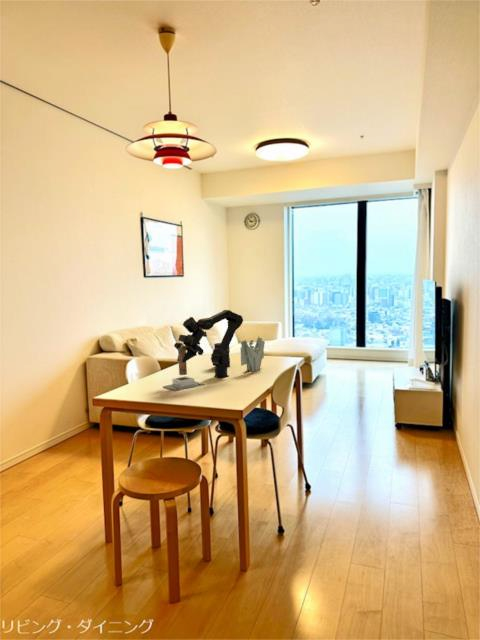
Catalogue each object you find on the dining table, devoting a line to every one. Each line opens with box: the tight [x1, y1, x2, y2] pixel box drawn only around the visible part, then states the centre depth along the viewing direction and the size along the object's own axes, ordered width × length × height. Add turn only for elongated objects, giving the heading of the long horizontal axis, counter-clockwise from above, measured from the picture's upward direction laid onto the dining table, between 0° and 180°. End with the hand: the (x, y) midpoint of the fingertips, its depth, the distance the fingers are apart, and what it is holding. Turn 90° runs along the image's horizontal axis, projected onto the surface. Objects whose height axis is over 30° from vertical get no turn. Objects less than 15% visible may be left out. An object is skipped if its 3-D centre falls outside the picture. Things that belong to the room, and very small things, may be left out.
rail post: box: [177, 348, 188, 376], centre depth 234 cm, size 4×4×14 cm
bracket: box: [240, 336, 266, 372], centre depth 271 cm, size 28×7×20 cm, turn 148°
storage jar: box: [213, 342, 231, 368], centre depth 285 cm, size 10×10×15 cm
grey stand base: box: [162, 375, 205, 392], centre depth 235 cm, size 18×12×4 cm, turn 131°
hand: (180, 361), depth 233 cm, fingers closed on rail post, 4 cm apart
